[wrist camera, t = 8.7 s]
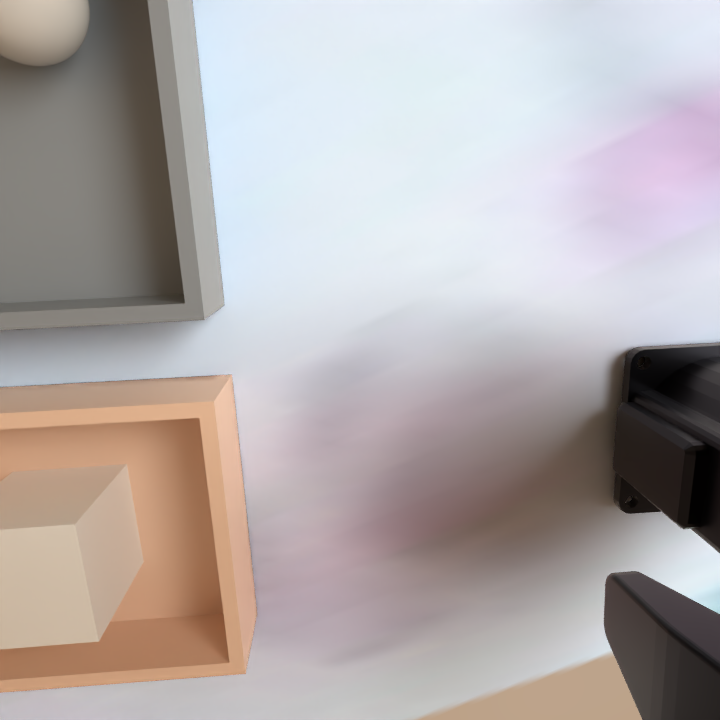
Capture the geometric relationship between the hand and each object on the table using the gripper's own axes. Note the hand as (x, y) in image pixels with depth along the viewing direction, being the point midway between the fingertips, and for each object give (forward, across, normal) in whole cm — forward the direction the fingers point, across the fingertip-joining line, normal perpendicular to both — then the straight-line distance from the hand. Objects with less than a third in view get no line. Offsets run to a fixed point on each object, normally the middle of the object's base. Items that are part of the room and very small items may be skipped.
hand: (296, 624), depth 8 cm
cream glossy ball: (+11, +7, -12) cm, 18 cm away
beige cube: (+11, +9, +4) cm, 15 cm away
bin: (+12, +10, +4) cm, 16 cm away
